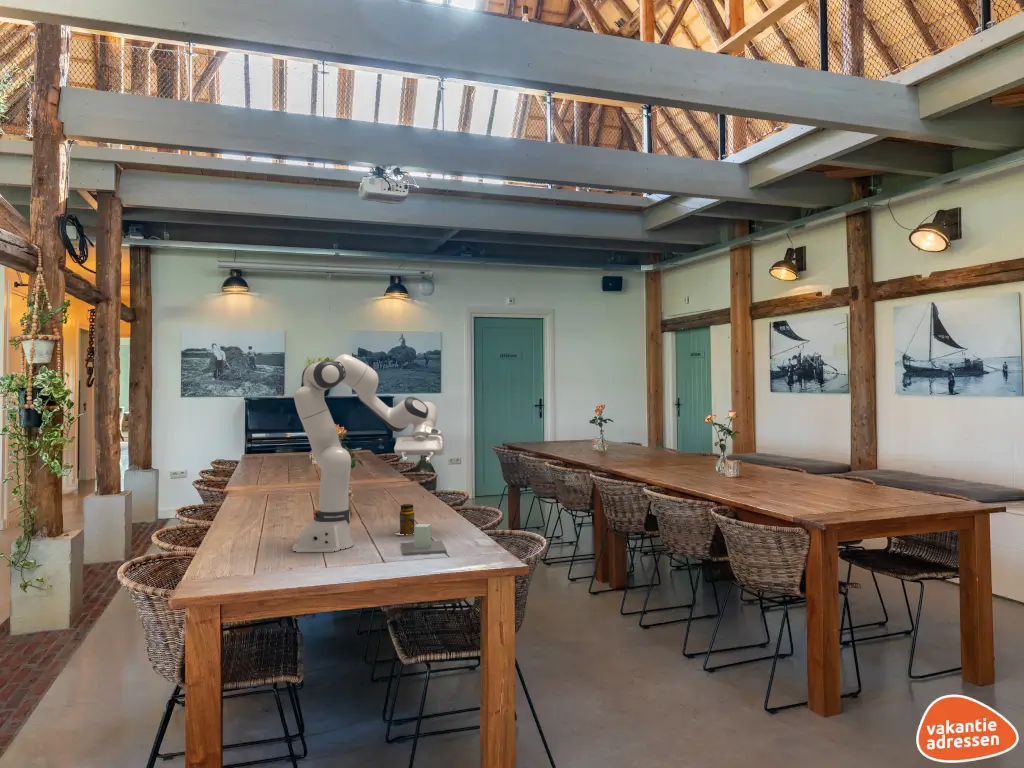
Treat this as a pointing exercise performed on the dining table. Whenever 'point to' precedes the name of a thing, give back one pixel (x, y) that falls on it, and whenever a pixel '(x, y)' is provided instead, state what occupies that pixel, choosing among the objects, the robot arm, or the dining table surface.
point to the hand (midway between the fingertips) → (416, 462)
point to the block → (422, 535)
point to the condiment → (406, 519)
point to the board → (434, 548)
